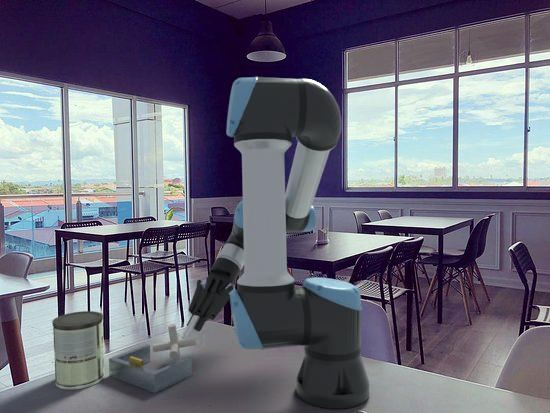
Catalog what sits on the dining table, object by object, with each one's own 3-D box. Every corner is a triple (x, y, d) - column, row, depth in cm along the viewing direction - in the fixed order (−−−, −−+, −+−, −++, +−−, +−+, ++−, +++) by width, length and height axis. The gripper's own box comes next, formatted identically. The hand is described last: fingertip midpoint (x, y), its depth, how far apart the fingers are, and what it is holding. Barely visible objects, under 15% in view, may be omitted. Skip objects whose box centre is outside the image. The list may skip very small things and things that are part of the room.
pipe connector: (198, 371, 104) (192, 330, 103) (154, 378, 103) (147, 338, 101) (198, 351, 114) (193, 313, 112) (158, 358, 113) (152, 320, 111)
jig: (191, 374, 103) (191, 352, 103) (155, 393, 94) (154, 368, 94) (147, 360, 112) (146, 339, 111) (109, 375, 103) (108, 353, 102)
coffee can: (48, 379, 101) (46, 317, 100) (94, 366, 108) (92, 308, 107) (63, 395, 94) (61, 328, 93) (112, 380, 101) (110, 317, 100)
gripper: (253, 274, 124) (213, 353, 112) (218, 269, 132) (176, 342, 119) (241, 258, 119) (197, 339, 107) (204, 253, 127) (159, 328, 115)
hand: (186, 340), depth 113 cm, fingers closed
